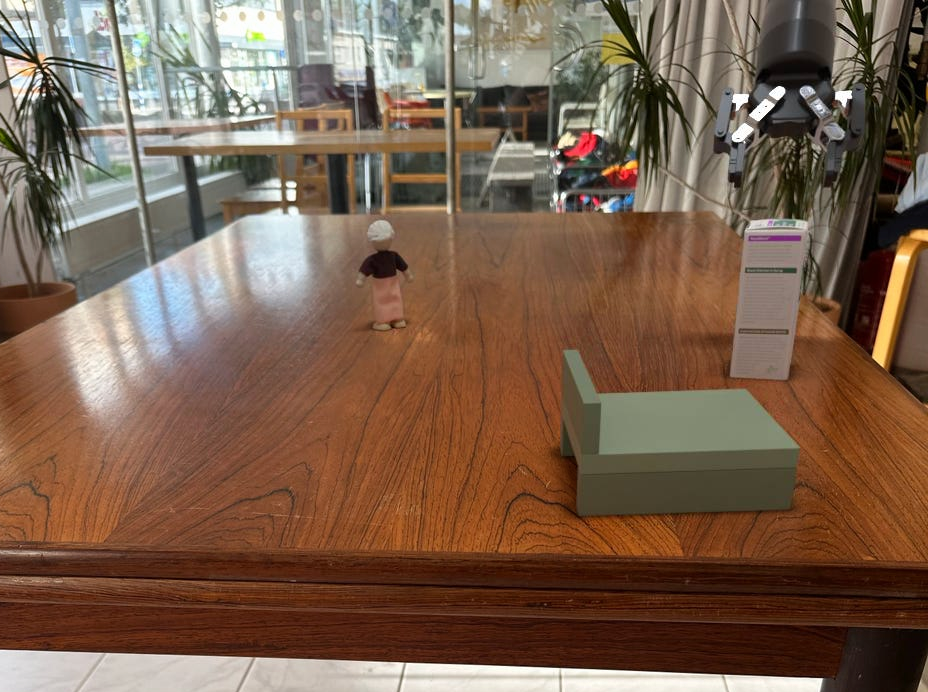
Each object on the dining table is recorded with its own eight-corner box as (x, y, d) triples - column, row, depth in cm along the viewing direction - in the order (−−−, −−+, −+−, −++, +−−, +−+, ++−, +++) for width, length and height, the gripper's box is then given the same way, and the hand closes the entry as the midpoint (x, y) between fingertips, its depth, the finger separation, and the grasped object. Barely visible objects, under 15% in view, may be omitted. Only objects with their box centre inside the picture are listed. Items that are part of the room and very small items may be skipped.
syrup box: (787, 384, 94) (811, 226, 86) (726, 381, 95) (744, 226, 88) (789, 369, 98) (812, 218, 91) (731, 366, 100) (749, 217, 92)
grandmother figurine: (401, 320, 124) (395, 215, 118) (419, 324, 121) (413, 217, 115) (353, 330, 120) (344, 222, 113) (371, 335, 117) (362, 225, 111)
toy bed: (738, 447, 79) (751, 343, 75) (789, 514, 67) (809, 395, 63) (559, 453, 79) (562, 349, 75) (578, 521, 67) (583, 403, 63)
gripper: (726, 19, 95) (710, 156, 92) (878, 11, 92) (867, 153, 88) (722, 79, 102) (706, 208, 99) (862, 74, 99) (851, 208, 95)
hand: (782, 182), depth 93 cm, fingers open, 8 cm apart
